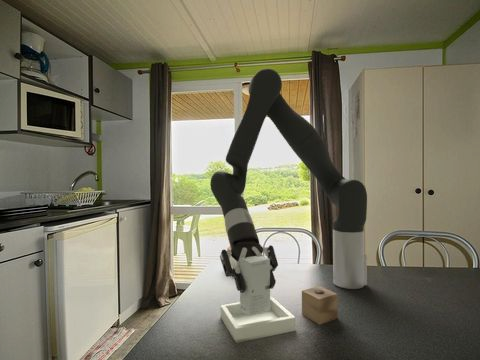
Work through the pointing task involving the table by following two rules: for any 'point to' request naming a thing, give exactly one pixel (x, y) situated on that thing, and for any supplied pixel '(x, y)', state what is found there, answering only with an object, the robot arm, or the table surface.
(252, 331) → the tray
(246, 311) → the skincare box
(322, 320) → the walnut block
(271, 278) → the robot arm
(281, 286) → the table surface
